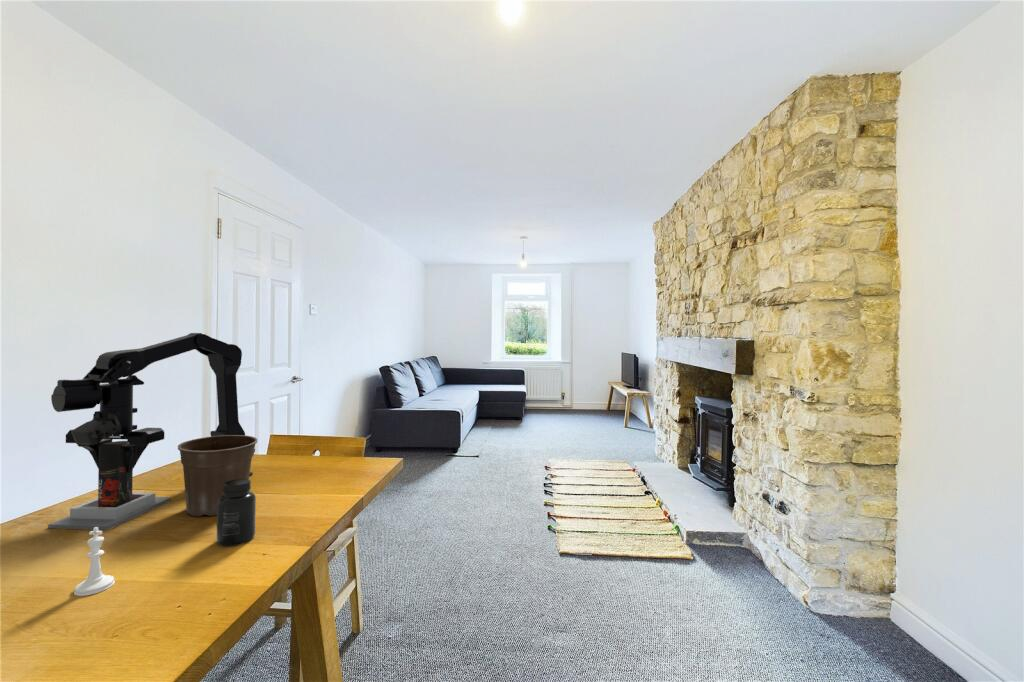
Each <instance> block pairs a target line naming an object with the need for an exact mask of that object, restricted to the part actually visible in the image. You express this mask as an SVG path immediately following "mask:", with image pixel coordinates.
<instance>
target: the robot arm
mask: <svg viewBox="0 0 1024 682" xmlns="http://www.w3.org/2000/svg"><path fill="white" fill-rule="evenodd" d="M193 350H195V351H197V353H200V354H202V355H203V356H205V357H207V360H208V363H209V366H210V368H211V370H212V371H213V373H214V375H215V381H216V399H217V411H218V412H217V417H218V425H217V427H216V429H215V430H210V433H209V434H210V437H211V436H222V435H246V433H245V430H244V428H243V427H242V425H241V423H240V421H239V406H238V390H237V389H238V388H237V387H238V386H237V373H238V371H239V369H240V367H241V364H242V357H243V352H242V351H243V350H242V349H241V347H239V345H236V344H233V343H227V342H225V341H222V340H219V339H216V338H213V337H211V336H210V335H207V334H206V333H203V332H190V333H188V334H187V335H182V336H179V337H176V338H172V339H169V340H166V341H161V342H159V343H155V344H152V345H148V346H145V347H141V348H134V349H133V348H132V349H123V350H122V349H120V350H115V351H114V350H113V351H106V352H103V353H101V354H100V355H98V358H97V359H96V360H95V361H96V362H95V364H94V366H93V367H92V368H91V369H90V370H89V372H87V373H86V375H84V376H83V378H82V379H58V380H57V383H56V386H55V387H54V389H53V392H52V394H51V396H50V398H51V399H50V400H51V405H52V408H53V409H54V411H55V412H57V413H62V412H71V411H79V410H80V411H81V410H88V409H94V408H95V407H96V406H97V405H99V410H97V411H94V413H93V417H92V419H91V420H88V421H86V422H84V423H83V424H81V425H79V426H77V427H76V428H74V429H69V431H68V432H67V433H66V434H65V444H76V445H77V446H78V447H79V448H80V447H81V448H83V449H85V450H87V451H88V452H89V454H90V455H91V456H92V459H93V460H94V463H95V465H96V467H97V469H98V470H99V445H101V444H104V443H109V442H113V440H126V441H128V444H125V445H122V446H120V447H121V448H122V449H123V450H124V451H125V468H126V472H127V473H129V472H131V471H132V470H133V471H134V469H135V466H136V465H137V463H138V462H139V460H140V458H141V456H142V455H143V453H144V451H145V450H146V449H147V447H148V446H149V444H152V443H156V442H159V441H163V440H165V430H164V429H163V428H161V427H144V428H140V429H138V424H134V423H133V421H134V420H133V419H134V418H133V417H134V414H135V413H138V407H134V406H133V405H134V404H133V403H134V386H140V385H145V381H143V380H142V379H140V378H138V376H137V375H135V374H136V373H137V374H138V373H139V372H141V371H143V370H144V369H146V368H147V367H148V366H149V365H151V364H154V363H156V362H160V361H162V360H165V359H168V358H173V357H175V356H179V355H180V354H181V355H182V354H184V353H187V352H190V351H193ZM255 452H256V449H254V453H255ZM253 474H254V472H251V471H250V475H249V477H250V476H252V475H253Z"/></svg>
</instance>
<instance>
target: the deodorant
mask: <svg viewBox="0 0 1024 682" xmlns="http://www.w3.org/2000/svg"><path fill="white" fill-rule="evenodd" d="M125 444H128V441H127V440H118V441H112V442H109V443H104V444H101V445H99V469H98V477H97V478H98V479H97V480H98V483H97V484H98V485H97V486H98V487H97V488H98V489H97V490H98V491H97V494H98V495H97V498H98V507H118V506H121V505H123V504H125V503H128V502H130V501H132V492H133V479H134V478H133V474H134V473H133V472H134V469H133V470H132V471H131V472H129V473H127V472H126V468H125V451H124V450H123V449H122V448H121V447H120V446H122V445H125Z"/></svg>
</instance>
